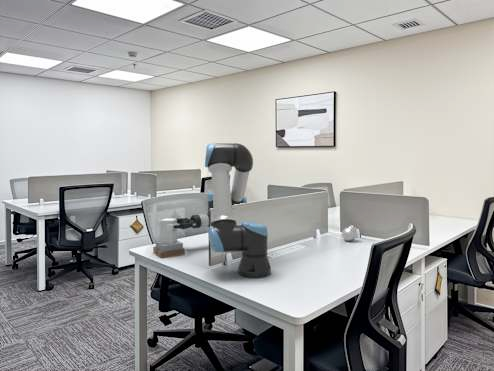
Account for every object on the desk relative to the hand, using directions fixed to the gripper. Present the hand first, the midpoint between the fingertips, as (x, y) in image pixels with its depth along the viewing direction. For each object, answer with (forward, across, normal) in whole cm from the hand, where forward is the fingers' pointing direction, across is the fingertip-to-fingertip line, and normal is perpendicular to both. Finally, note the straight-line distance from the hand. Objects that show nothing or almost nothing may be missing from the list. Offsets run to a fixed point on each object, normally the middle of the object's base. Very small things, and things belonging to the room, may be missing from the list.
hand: (162, 225), depth 202 cm
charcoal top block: (-3, 0, -13) cm, 13 cm away
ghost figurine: (-108, -31, -16) cm, 114 cm away
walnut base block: (-3, 0, -17) cm, 17 cm away
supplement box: (-3, 0, -10) cm, 11 cm away
